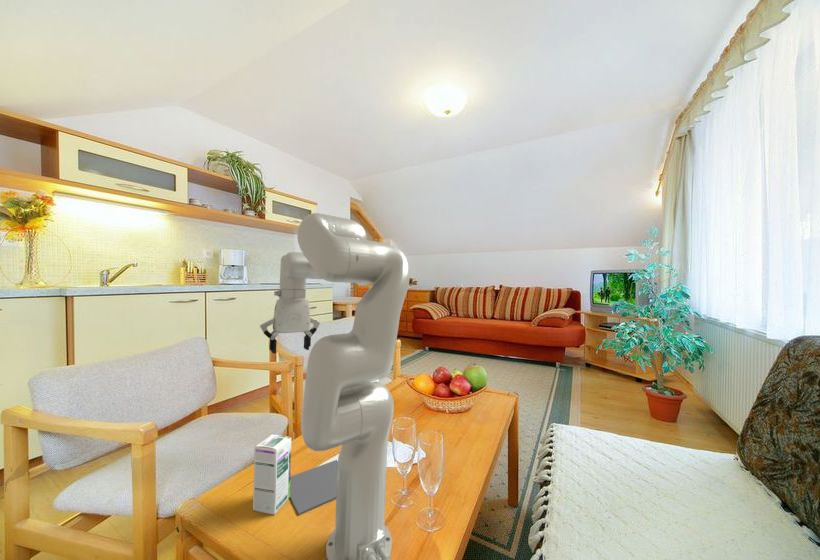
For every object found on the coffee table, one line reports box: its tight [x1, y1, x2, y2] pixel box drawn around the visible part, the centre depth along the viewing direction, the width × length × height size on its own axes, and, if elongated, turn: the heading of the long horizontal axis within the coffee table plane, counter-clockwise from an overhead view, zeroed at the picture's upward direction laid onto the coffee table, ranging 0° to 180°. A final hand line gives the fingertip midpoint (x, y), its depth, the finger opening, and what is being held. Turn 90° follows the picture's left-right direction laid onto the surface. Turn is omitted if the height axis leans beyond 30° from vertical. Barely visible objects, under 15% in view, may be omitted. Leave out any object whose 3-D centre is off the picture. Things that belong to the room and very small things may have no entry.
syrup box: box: [252, 433, 292, 516], centre depth 68 cm, size 6×6×14 cm
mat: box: [289, 459, 338, 516], centre depth 75 cm, size 14×15×1 cm
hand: (290, 350), depth 90 cm, fingers open, 9 cm apart
